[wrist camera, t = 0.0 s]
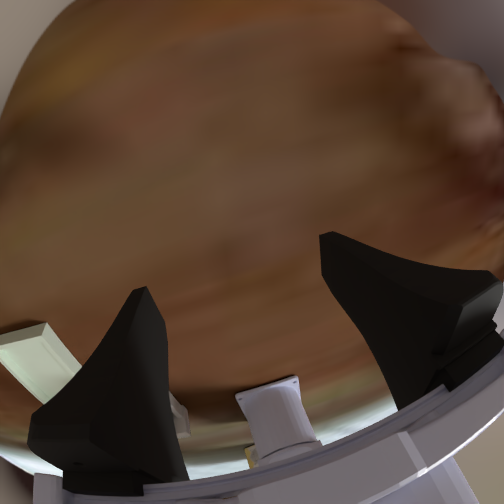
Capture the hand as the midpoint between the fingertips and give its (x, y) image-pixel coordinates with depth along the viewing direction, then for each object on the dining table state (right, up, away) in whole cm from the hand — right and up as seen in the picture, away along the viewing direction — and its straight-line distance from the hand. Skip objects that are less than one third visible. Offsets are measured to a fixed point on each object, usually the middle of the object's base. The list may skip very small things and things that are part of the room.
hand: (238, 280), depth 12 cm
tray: (-22, -12, +13) cm, 28 cm away
